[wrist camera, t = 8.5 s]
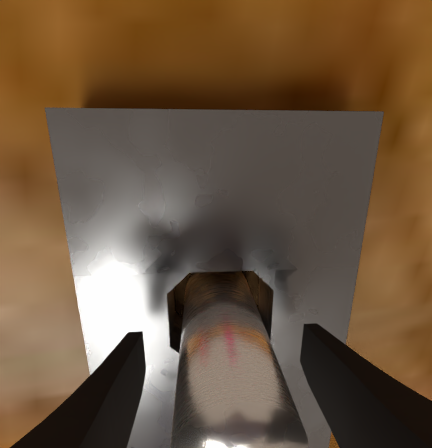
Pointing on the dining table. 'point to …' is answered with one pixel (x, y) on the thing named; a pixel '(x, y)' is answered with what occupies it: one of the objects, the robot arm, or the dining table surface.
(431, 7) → the dining table surface
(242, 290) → the steel peg
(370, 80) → the dining table surface
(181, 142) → the dock plate
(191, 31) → the dining table surface
